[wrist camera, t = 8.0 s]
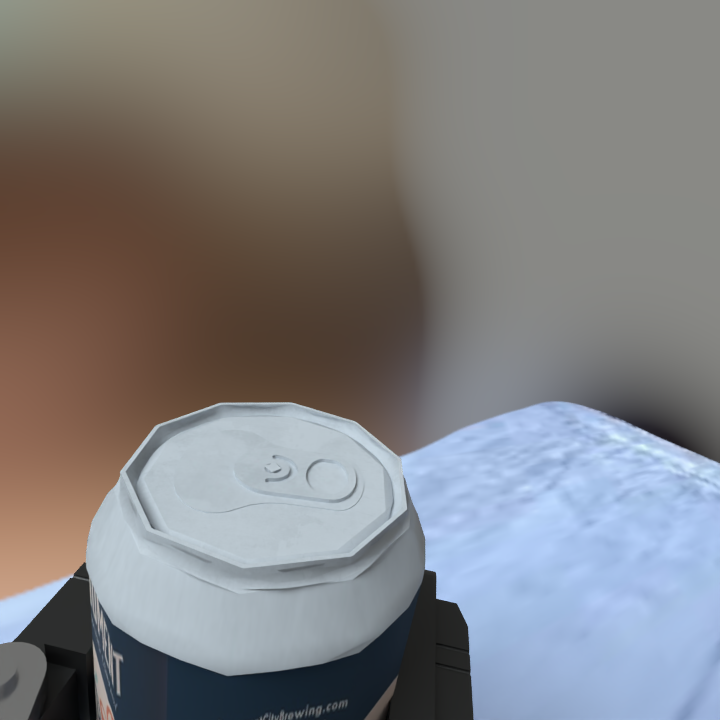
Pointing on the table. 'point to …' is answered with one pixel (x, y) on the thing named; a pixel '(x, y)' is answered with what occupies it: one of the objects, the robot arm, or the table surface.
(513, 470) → the table surface
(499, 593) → the table surface
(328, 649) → the beer can
